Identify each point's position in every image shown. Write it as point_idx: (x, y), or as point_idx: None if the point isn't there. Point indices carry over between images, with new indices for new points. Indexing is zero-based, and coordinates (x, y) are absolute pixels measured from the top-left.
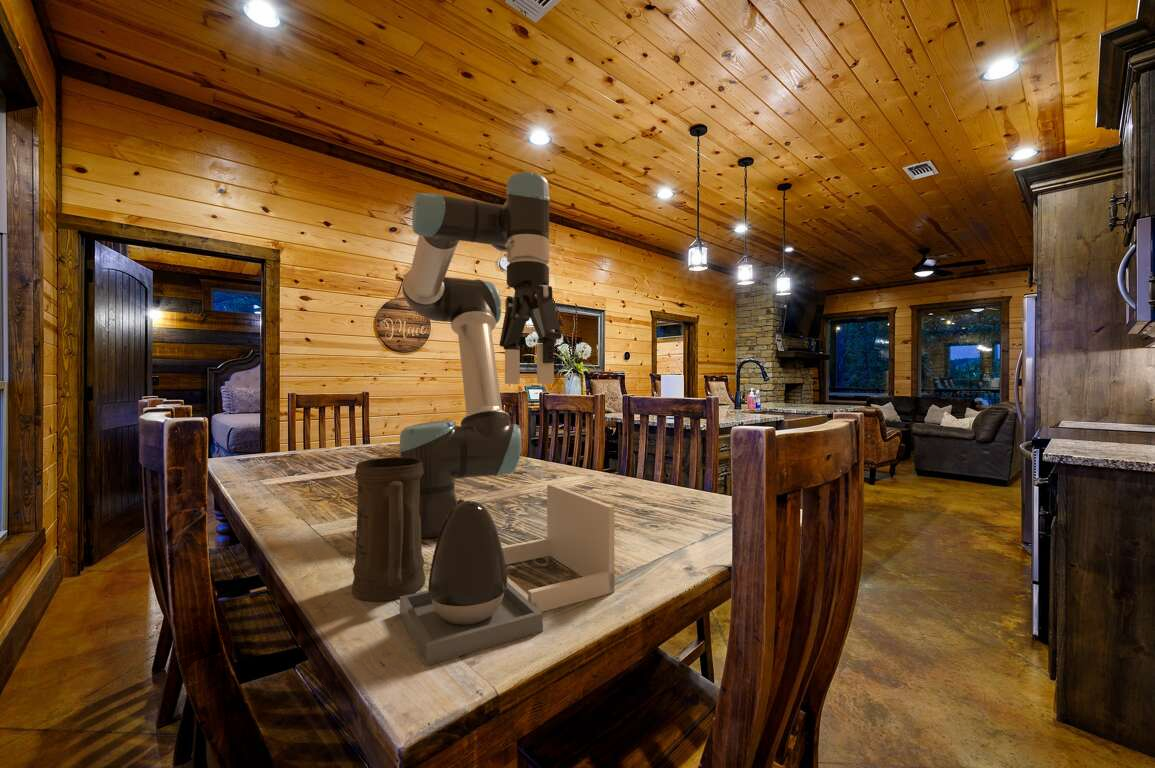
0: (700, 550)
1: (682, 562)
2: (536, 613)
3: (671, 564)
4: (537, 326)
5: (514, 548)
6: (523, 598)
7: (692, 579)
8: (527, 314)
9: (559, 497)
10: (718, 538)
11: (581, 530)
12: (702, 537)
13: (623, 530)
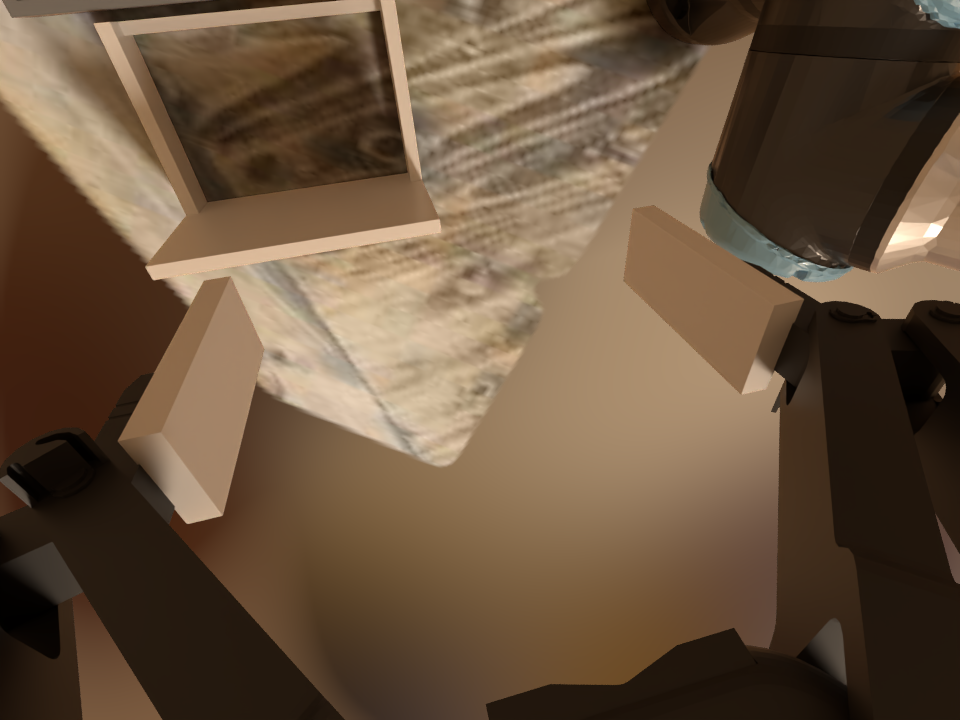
0: (347, 401)
1: (305, 359)
2: (10, 3)
3: (301, 342)
4: (116, 588)
5: (395, 90)
6: (95, 4)
7: None
8: (325, 716)
9: (374, 222)
10: (387, 441)
11: (276, 219)
12: (399, 425)
13: (481, 342)
